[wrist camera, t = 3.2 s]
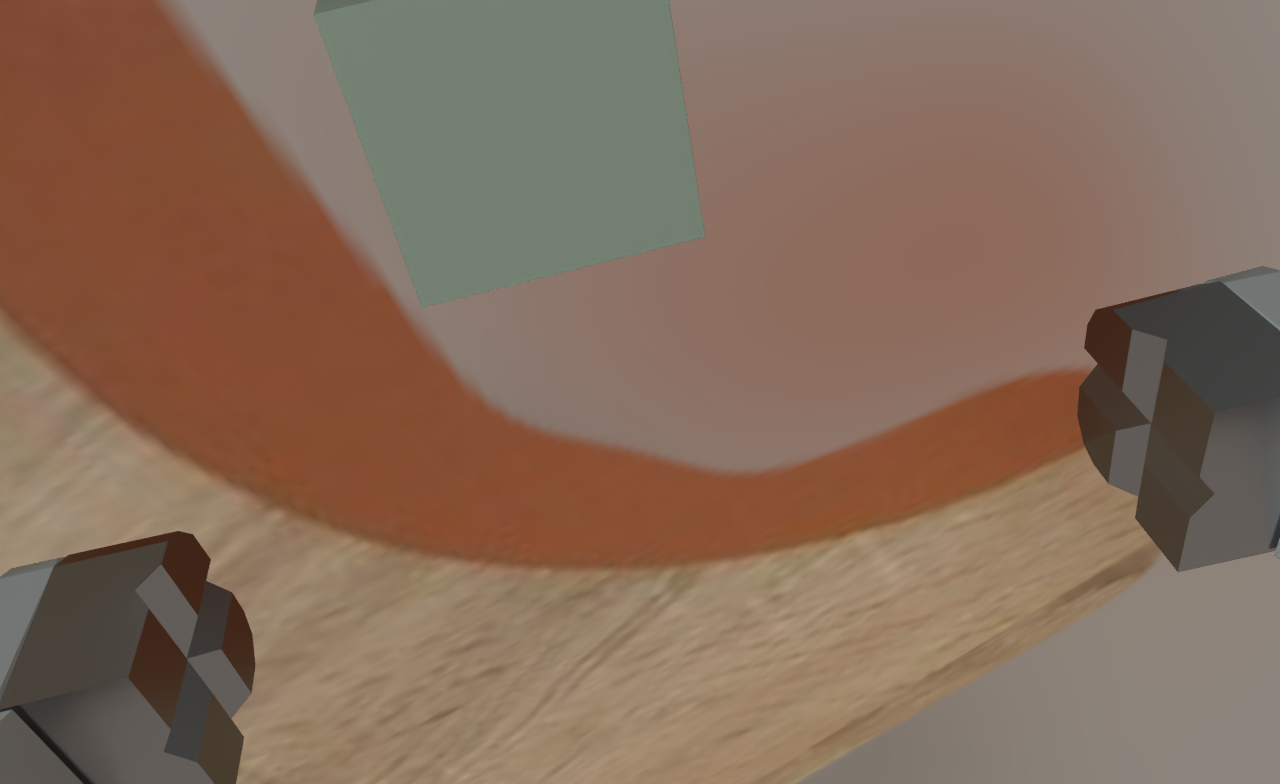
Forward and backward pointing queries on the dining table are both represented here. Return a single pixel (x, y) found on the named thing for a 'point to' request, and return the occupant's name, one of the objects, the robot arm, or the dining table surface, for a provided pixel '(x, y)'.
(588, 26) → the green cube
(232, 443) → the dining table surface
